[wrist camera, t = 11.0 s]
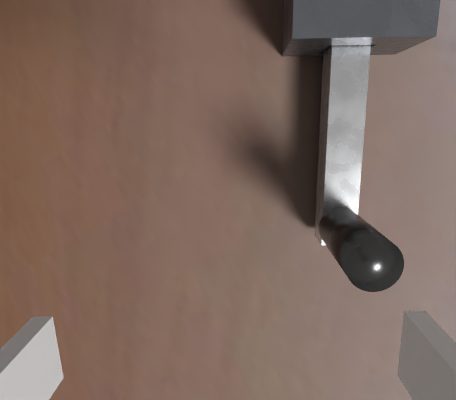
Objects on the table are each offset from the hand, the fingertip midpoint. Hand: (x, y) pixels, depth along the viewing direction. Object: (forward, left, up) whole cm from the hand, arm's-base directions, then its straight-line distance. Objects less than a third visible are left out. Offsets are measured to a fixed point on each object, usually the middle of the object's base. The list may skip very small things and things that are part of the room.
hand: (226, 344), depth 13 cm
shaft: (-8, +11, -28) cm, 31 cm away
